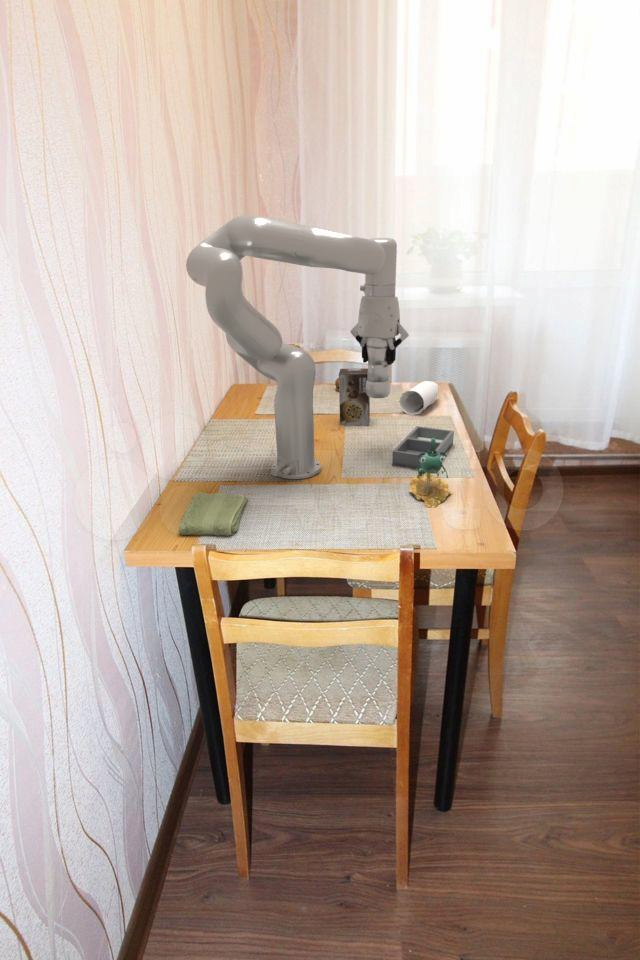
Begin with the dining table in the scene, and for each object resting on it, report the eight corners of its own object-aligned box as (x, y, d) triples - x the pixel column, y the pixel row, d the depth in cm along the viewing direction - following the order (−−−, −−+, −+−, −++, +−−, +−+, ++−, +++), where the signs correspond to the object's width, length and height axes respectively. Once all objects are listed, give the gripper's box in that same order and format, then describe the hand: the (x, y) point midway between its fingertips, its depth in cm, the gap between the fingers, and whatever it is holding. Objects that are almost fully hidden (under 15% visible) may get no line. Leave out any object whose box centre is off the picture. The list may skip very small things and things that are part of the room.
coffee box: (370, 419, 200) (370, 368, 193) (369, 426, 194) (369, 373, 188) (340, 418, 201) (340, 367, 194) (339, 425, 195) (338, 373, 189)
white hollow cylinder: (444, 401, 215) (446, 377, 212) (422, 417, 201) (423, 392, 197) (422, 397, 219) (423, 374, 216) (399, 413, 205) (400, 389, 201)
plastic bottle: (394, 399, 170) (397, 322, 162) (371, 402, 168) (373, 324, 160) (383, 392, 176) (385, 318, 168) (360, 395, 174) (362, 320, 165)
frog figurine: (448, 476, 160) (453, 422, 153) (452, 517, 145) (457, 459, 138) (409, 474, 162) (412, 421, 154) (409, 515, 146) (412, 458, 139)
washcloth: (250, 501, 151) (249, 489, 150) (236, 539, 135) (235, 525, 134) (194, 500, 152) (193, 488, 150) (174, 538, 136) (172, 525, 134)
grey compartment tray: (432, 472, 163) (432, 457, 161) (392, 465, 167) (392, 451, 165) (453, 444, 179) (453, 430, 178) (416, 439, 184) (416, 426, 182)
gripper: (342, 291, 161) (342, 362, 168) (408, 295, 154) (405, 369, 162) (353, 287, 167) (353, 356, 175) (418, 290, 160) (414, 362, 168)
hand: (378, 361), depth 168 cm, fingers closed on plastic bottle, 6 cm apart
